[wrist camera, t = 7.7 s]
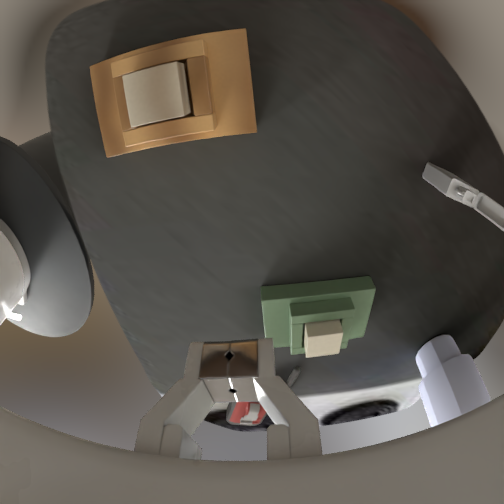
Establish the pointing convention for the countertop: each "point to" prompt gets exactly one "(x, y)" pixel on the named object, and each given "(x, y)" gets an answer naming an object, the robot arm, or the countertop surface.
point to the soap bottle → (448, 381)
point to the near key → (156, 93)
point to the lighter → (464, 193)
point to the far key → (322, 338)
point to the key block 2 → (316, 309)
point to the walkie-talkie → (252, 407)
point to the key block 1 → (198, 84)
